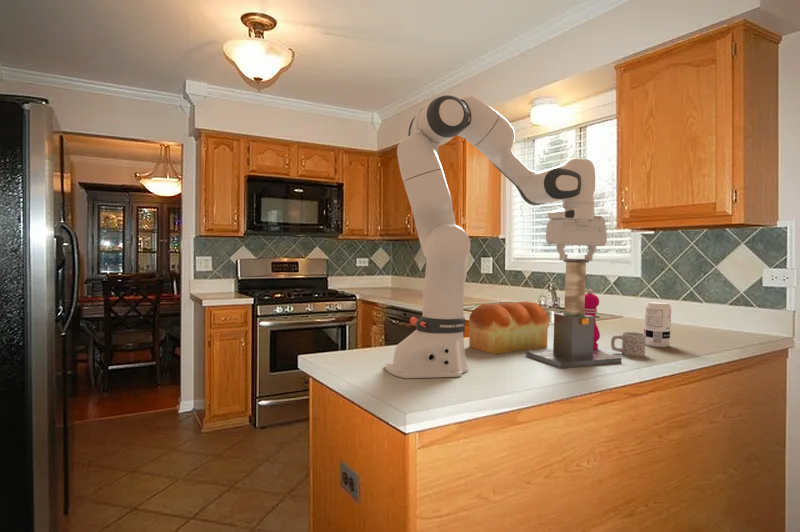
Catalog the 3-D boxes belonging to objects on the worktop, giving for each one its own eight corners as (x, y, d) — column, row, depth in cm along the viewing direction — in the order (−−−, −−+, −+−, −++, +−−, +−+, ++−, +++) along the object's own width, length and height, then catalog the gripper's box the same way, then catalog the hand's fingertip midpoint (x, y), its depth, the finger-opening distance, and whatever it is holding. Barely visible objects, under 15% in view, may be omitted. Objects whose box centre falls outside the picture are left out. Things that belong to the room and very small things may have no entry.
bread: (521, 341, 177) (522, 300, 177) (548, 347, 167) (550, 303, 166) (467, 347, 164) (468, 303, 164) (493, 354, 154) (494, 307, 153)
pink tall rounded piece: (601, 351, 162) (603, 290, 161) (578, 349, 163) (580, 289, 162) (597, 346, 169) (599, 288, 168) (574, 345, 170) (577, 287, 169)
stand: (561, 368, 137) (562, 320, 136) (525, 356, 152) (527, 312, 151) (621, 362, 145) (623, 317, 145) (582, 351, 160) (583, 310, 159)
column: (572, 330, 145) (575, 259, 144) (561, 327, 149) (563, 258, 149) (586, 329, 147) (588, 259, 146) (574, 327, 151) (576, 258, 150)
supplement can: (639, 342, 178) (641, 301, 177) (662, 343, 178) (664, 301, 177) (649, 347, 170) (651, 303, 169) (674, 347, 169) (676, 304, 169)
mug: (642, 353, 160) (643, 332, 160) (646, 357, 153) (647, 336, 153) (609, 350, 162) (609, 330, 162) (612, 355, 156) (613, 334, 156)
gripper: (597, 216, 153) (595, 260, 154) (543, 212, 146) (541, 259, 146) (612, 215, 148) (610, 261, 148) (557, 211, 140) (555, 260, 140)
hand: (576, 260), depth 147 cm, fingers open, 8 cm apart
